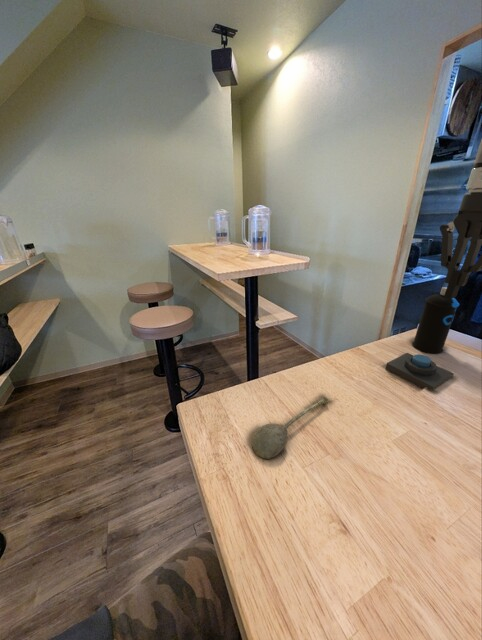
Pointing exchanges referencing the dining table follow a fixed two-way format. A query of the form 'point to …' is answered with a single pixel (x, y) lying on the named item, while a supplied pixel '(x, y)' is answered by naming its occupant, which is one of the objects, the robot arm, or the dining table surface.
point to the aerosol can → (435, 323)
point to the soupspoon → (275, 435)
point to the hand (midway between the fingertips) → (449, 297)
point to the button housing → (418, 372)
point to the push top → (421, 360)
